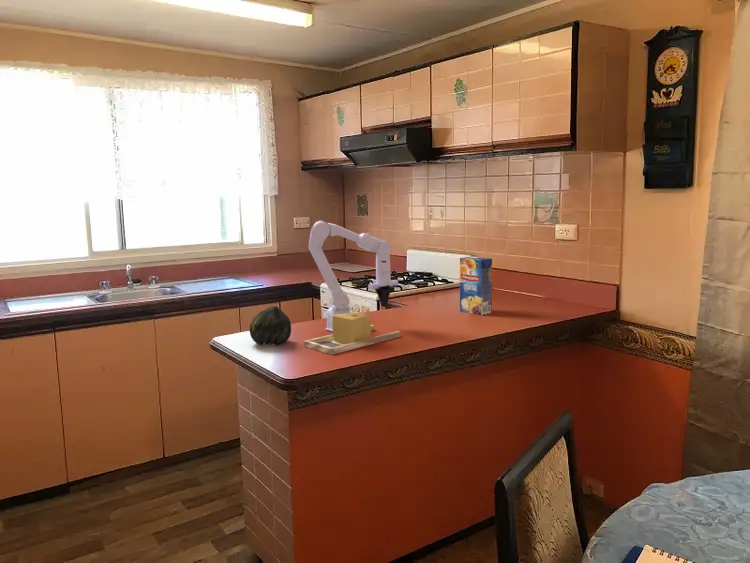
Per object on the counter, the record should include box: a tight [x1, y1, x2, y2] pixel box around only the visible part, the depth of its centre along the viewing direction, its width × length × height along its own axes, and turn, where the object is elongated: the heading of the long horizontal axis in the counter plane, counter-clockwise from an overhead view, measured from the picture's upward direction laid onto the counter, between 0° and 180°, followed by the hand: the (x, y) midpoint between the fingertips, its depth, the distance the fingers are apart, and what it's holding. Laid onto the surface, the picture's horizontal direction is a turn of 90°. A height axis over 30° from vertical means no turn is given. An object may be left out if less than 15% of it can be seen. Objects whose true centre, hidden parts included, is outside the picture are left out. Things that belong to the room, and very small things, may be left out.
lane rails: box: [303, 324, 401, 355], centre depth 224 cm, size 16×33×2 cm, turn 133°
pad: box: [328, 340, 345, 346], centre depth 224 cm, size 13×12×1 cm
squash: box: [249, 305, 292, 346], centre depth 222 cm, size 14×15×15 cm
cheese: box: [332, 312, 372, 344], centre depth 223 cm, size 10×11×10 cm
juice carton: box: [459, 256, 493, 316], centre depth 267 cm, size 12×8×24 cm, turn 42°
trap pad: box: [319, 341, 340, 348], centre depth 217 cm, size 13×8×1 cm, turn 43°
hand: (383, 305), depth 242 cm, fingers closed
